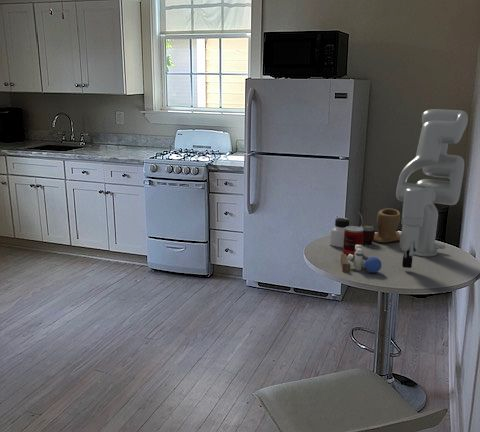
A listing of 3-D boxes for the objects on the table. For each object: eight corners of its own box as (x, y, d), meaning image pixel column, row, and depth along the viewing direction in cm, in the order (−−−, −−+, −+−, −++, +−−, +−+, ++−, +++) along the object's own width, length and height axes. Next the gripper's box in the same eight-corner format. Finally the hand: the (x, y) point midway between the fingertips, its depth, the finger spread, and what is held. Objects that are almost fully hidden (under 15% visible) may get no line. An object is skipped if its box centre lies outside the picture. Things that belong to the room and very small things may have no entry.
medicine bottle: (345, 248, 221) (347, 221, 218) (329, 245, 224) (331, 219, 221) (350, 244, 227) (353, 218, 224) (335, 241, 230) (337, 215, 227)
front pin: (367, 261, 198) (349, 253, 198) (369, 262, 196) (350, 254, 196) (365, 267, 198) (346, 258, 198) (366, 268, 196) (347, 259, 196)
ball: (363, 262, 197) (377, 255, 195) (370, 276, 194) (385, 269, 193) (361, 260, 191) (375, 253, 190) (368, 274, 189) (383, 267, 188)
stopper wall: (345, 261, 204) (346, 254, 203) (347, 271, 193) (348, 264, 192) (340, 260, 204) (341, 253, 204) (342, 271, 193) (343, 263, 192)
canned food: (360, 251, 218) (362, 226, 215) (362, 257, 210) (364, 231, 207) (341, 250, 218) (343, 225, 216) (343, 256, 211) (345, 230, 208)
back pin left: (359, 268, 197) (361, 248, 195) (362, 270, 194) (363, 250, 192) (353, 268, 196) (355, 248, 194) (355, 270, 194) (357, 250, 192)
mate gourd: (375, 242, 230) (378, 210, 227) (370, 246, 224) (373, 213, 220) (359, 239, 234) (362, 207, 231) (353, 243, 228) (356, 211, 224)
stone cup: (382, 246, 225) (385, 213, 222) (365, 238, 236) (368, 207, 232) (409, 243, 231) (413, 211, 227) (392, 236, 242) (395, 205, 238)
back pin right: (358, 263, 202) (360, 244, 200) (360, 266, 199) (362, 246, 197) (352, 263, 201) (354, 244, 199) (354, 266, 199) (356, 246, 197)
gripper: (398, 215, 198) (393, 259, 203) (405, 225, 184) (400, 273, 189) (418, 216, 198) (412, 261, 202) (426, 226, 183) (420, 274, 188)
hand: (406, 266), depth 195 cm, fingers closed
